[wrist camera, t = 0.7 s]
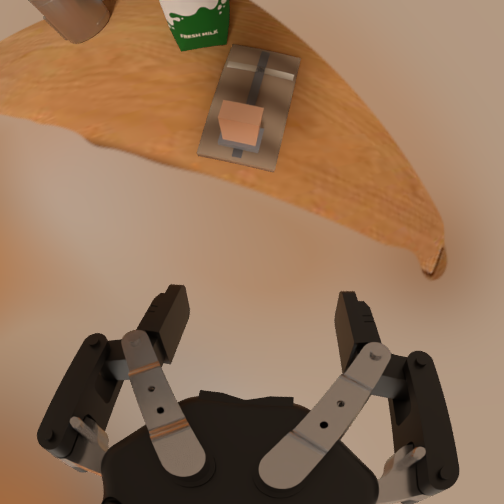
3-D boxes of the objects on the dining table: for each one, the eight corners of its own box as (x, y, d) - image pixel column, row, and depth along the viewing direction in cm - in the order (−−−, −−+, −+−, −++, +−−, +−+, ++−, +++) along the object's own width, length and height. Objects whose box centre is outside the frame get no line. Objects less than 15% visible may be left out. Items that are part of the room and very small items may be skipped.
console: (273, 172, 35) (274, 170, 33) (198, 155, 34) (196, 152, 32) (298, 63, 33) (301, 57, 31) (232, 49, 32) (232, 43, 31)
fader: (258, 153, 32) (263, 131, 24) (218, 144, 32) (211, 121, 24) (263, 131, 32) (270, 104, 24) (224, 123, 32) (219, 94, 23)
